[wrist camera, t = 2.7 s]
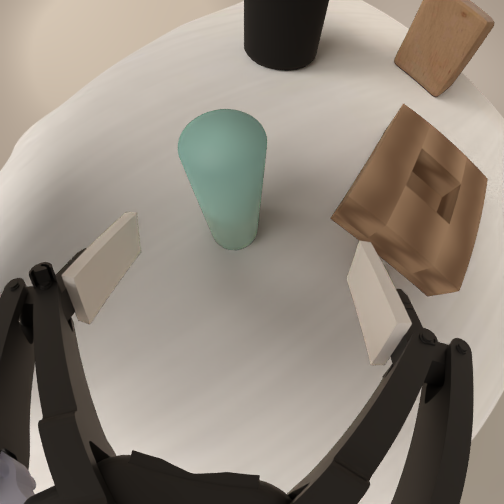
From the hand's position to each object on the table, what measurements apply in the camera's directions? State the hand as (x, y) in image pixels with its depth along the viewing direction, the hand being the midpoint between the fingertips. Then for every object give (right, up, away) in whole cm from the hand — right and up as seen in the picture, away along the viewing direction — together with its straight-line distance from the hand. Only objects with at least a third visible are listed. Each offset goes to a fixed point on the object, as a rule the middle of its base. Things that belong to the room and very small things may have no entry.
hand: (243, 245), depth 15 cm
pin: (-1, +2, +11) cm, 11 cm away
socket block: (+19, +5, +12) cm, 23 cm away
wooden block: (+31, +32, +18) cm, 48 cm away
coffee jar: (+5, +29, +17) cm, 34 cm away
